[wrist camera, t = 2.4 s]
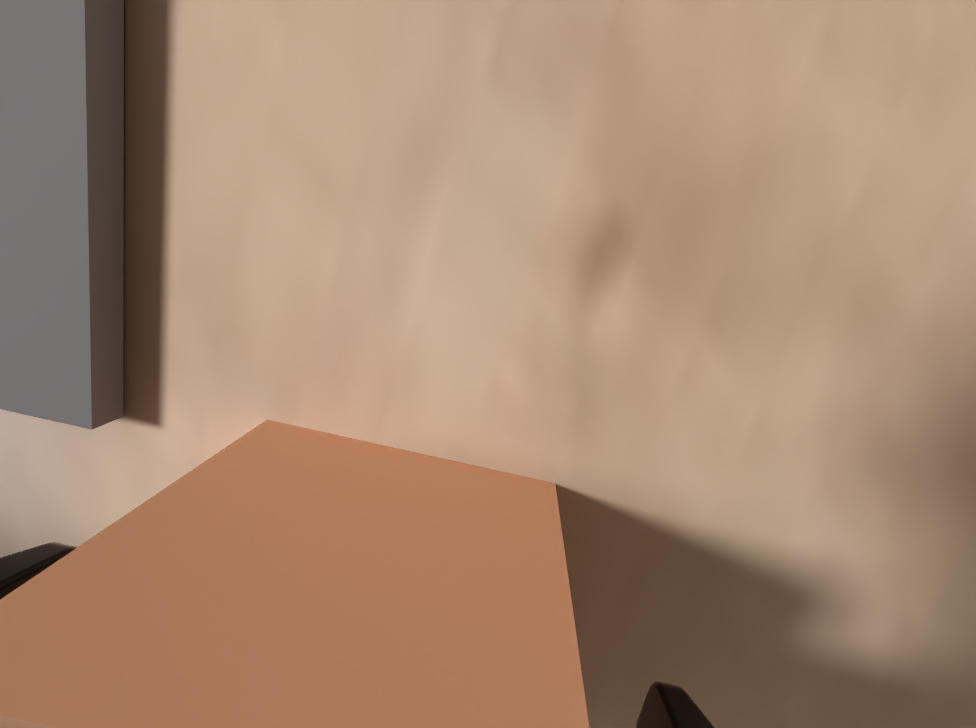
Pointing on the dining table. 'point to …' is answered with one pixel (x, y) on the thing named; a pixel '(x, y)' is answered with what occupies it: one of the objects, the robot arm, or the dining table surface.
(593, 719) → the dining table surface
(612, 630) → the dining table surface
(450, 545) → the peach block
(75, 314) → the charcoal mat
